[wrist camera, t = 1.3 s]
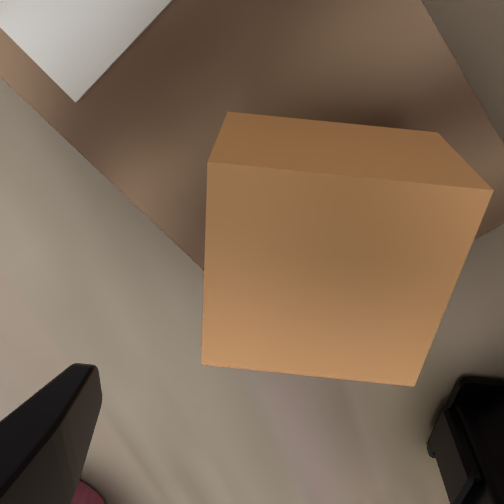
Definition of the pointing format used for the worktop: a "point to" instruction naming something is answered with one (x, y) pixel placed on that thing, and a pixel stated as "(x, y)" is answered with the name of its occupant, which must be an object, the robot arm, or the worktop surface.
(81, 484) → the plant pot
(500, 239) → the worktop surface
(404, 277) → the orange tan square block
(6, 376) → the worktop surface
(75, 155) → the worktop surface
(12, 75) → the post board
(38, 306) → the worktop surface
